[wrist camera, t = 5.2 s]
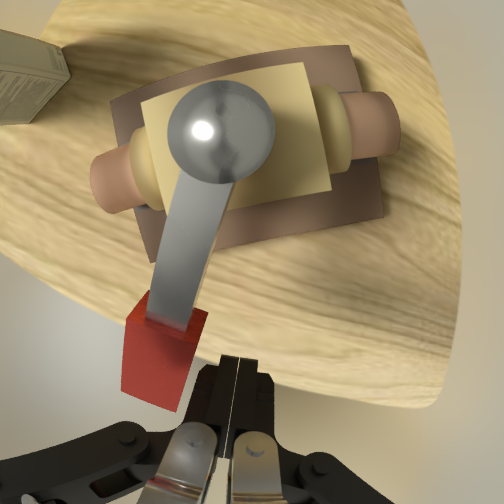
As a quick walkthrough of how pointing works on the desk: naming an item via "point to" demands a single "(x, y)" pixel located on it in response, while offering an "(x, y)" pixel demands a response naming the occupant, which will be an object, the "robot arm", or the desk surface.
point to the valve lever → (192, 232)
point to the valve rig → (281, 155)
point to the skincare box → (28, 76)
